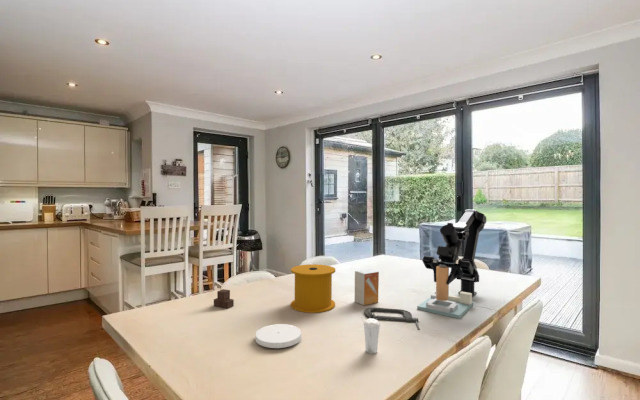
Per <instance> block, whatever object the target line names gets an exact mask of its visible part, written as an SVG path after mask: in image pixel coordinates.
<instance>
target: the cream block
mask: <svg viewBox="0 0 640 400" xmlns="http://www.w3.org/2000/svg"><path fill="white" fill-rule="evenodd" d="M448 300H451V301H457V302H460V303H463V304H468V305H470V304H471V303H472V302H473V296H472V293H468V292H460V294H459V296H455V295H451V294H449V299H448Z"/></svg>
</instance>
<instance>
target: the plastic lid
mask: <svg viewBox="0 0 640 400" xmlns="http://www.w3.org/2000/svg"><path fill="white" fill-rule="evenodd" d="M254 340H255V343H257V345H260V346H261V347H265V348H268V349H269V348H270V349H282V348H287V347H288V348H290V347H292V346H295V345H297V344H298V343H299V342H301V340H302V330H301V329H300V328H299V327H298V326H295V325H291V324H287V323H286V324H285V323H276V324H271V325H270V324H269V325H265V326H263V327H261V328H259V329H257V330H256V331H255V339H254Z"/></svg>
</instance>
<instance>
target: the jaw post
mask: <svg viewBox="0 0 640 400" xmlns="http://www.w3.org/2000/svg"><path fill="white" fill-rule="evenodd" d="M449 274H450V268H449V267H446V265H442V264H441V265H439V266H436V282H435V292H436V299H437V300H440V301H447V300H448V299H449V295H450V294H449V290H450V289H449V288H450V286H449V285H450V284H449V285H447V280H448V277H449Z"/></svg>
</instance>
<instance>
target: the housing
mask: <svg viewBox="0 0 640 400" xmlns="http://www.w3.org/2000/svg"><path fill="white" fill-rule="evenodd" d="M473 305H474V301H472V303H471V304H470V305H468V304H463V303H460V302H457V301H451V300H447V301H440V300H437V299H436V291H435V292H434V293H432V294H430V297H428V298H427V299H425V301H422V302H421V303H420V304H418V305H417V306H416V307H417V308H416V309H417V310H420V311H422V312H424V311H425V312H429V313H432V314H438V315H441V316H442V315H443V316H446V317H452V318H455V319H461V318H462V317H463V316H464V315H465V314H466V313H467V312H468V311H469V310H470V309H471V308H472V307H473Z"/></svg>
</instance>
